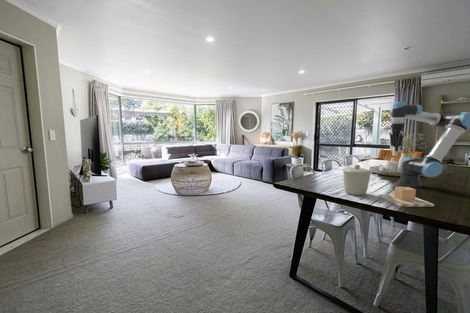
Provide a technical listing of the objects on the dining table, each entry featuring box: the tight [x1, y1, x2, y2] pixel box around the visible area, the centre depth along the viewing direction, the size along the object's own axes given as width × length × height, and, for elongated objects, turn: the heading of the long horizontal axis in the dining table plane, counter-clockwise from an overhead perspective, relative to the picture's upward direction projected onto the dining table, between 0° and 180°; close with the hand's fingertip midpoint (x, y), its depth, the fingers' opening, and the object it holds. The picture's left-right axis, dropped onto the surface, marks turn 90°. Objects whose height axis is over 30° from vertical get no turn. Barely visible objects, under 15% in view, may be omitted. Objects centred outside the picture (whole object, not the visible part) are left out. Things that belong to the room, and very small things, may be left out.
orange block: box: [394, 186, 417, 201], centre depth 139 cm, size 8×6×7 cm
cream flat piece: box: [377, 193, 435, 208], centre depth 140 cm, size 20×20×6 cm
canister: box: [342, 164, 373, 196], centre depth 156 cm, size 18×18×21 cm
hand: (394, 155), depth 164 cm, fingers closed
